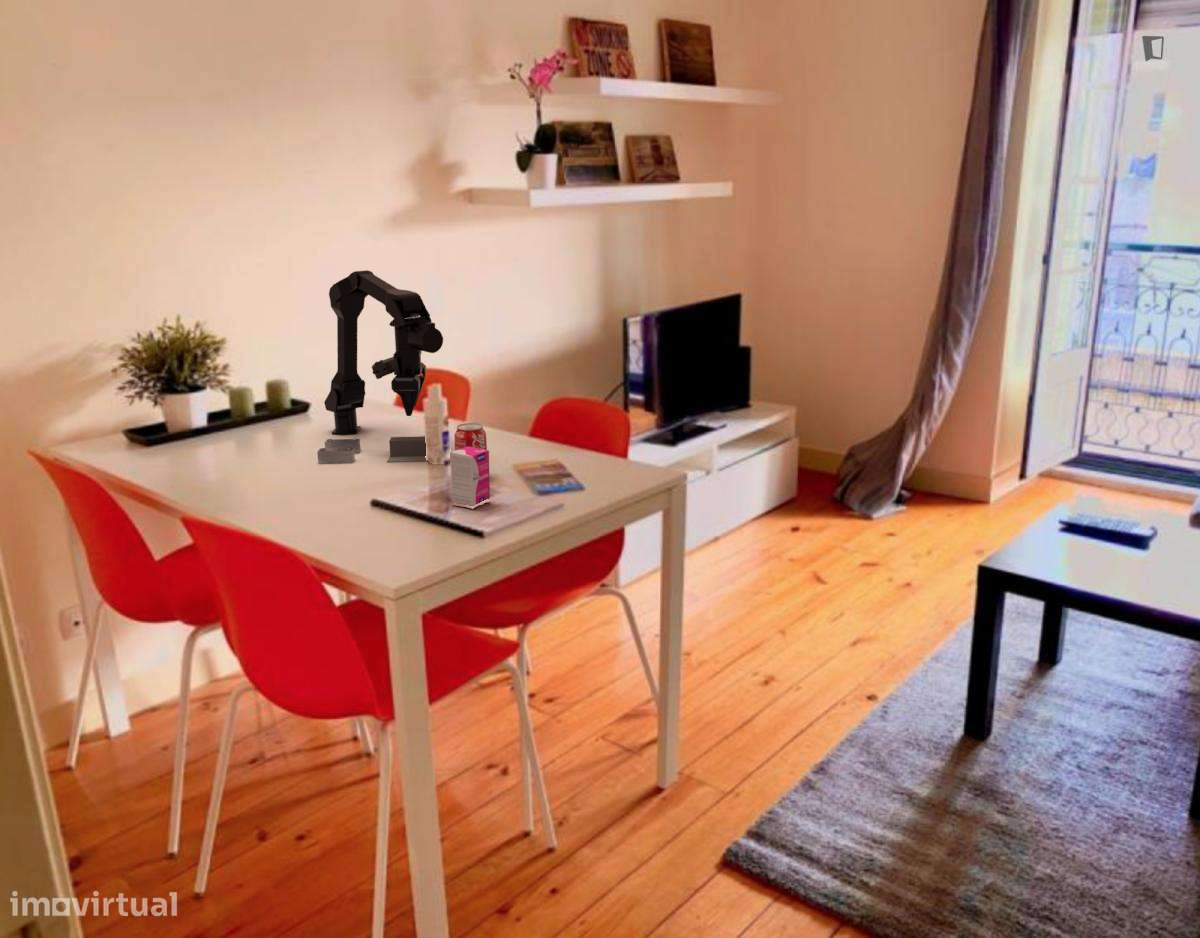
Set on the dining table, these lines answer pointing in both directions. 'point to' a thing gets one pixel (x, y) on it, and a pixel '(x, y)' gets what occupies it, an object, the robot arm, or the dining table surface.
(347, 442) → the housing
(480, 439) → the soda can
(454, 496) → the supplement box
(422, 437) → the grey orange block
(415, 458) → the mat
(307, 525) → the dining table surface
